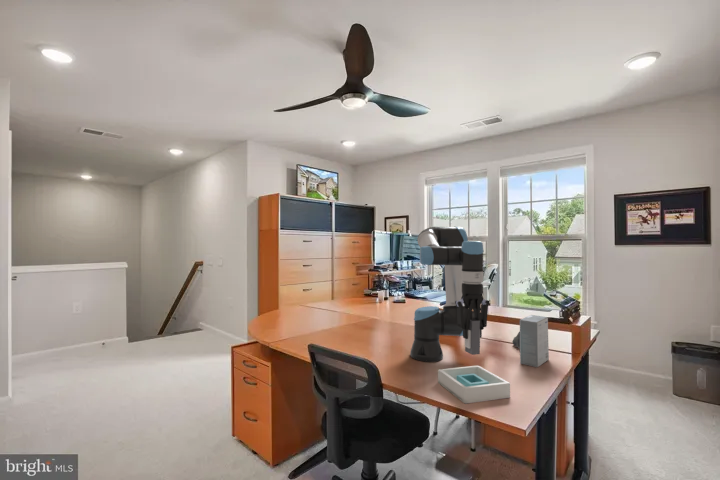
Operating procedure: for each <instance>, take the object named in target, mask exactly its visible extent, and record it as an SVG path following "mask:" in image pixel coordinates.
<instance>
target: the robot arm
mask: <svg viewBox="0 0 720 480" xmlns="http://www.w3.org/2000/svg"><path fill="white" fill-rule="evenodd" d="M416 239H417V241H416V242H417V244H418V245H417V246H419V247H420V249H419V262H420V264H421V265H422V266H423V265H425V266H426V265H427V266H444V280H445V281H444V283H445V304H444V305H443V306H442V309H440V307H439V306H431V305H430V306H428V305H427V306H422V307H418V308H417V309H415V311H414V317H413V320H414V324H413V325H414V329H413V330H414V333H413V334H414V335H413V336H414V337H413V338H414V339H413V342H412V346H411V348H410V352H409V353H410V357H411V358H412V359H413V360H416V361H420V362H425V363H426V362H429V363H431V362H432V363H433V362H440V361H442V360H443V358H444V353H443V349H442V346H441V343H440V336H447V337H448V336H453V337H462V338H463V339H464V348H465V347H467V348H469V349H470V348H471V330H469V324H470V317H471V312H472V311H475V319H476V320H479V321H480V339H481V338H482V335H483V334H482V332H483V331H482V330H484V329H485V328H487V326H488V325H487V324H488V314H489V313H488V312H489V311H488V309H489V306H490V300H487V299H485V298H484V296H483V294H484V284H483V283H484V245H483V242H482V241H479V240H478V241H477V240H468V235H467V231H466V230H465V228H464V227H462V226H431V227H427V228H425V229H423V230H422V231H420V233H419V234H418V236H417V238H416Z"/></svg>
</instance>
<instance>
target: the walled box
mask: <svg viewBox="0 0 720 480" xmlns="http://www.w3.org/2000/svg"><path fill="white" fill-rule="evenodd" d="M437 383H438V384H439V385H440V386H442V387H443V388H444V389H445V390H446V391H448V392H449V393H450V394H452V395H453V396H454V397H455V398H456V399H459V400H460V401H461V402H462V404H473V403H474V404H475V403H479V402H480V403H481V402H488V401H494V400H502V399H510V398H511V382H509V381H507V380H505V379H504V378H502V377H500V376H498V375H497V374H494V373H493V372H491V371H490V370H487V369H485V368H484V367H482V366H480V365H470V366H461V367H449V368H441V369H437Z"/></svg>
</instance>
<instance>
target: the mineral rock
mask: <svg viewBox="0 0 720 480" xmlns="http://www.w3.org/2000/svg"><path fill="white" fill-rule="evenodd" d="M511 342H512V343H511V344H513V346H515V347H516V348H517V349H519V350H520V331H519V332H518V333H517V334H516V336H514V337H513V340H512V341H511Z"/></svg>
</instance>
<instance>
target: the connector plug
mask: <svg viewBox="0 0 720 480" xmlns="http://www.w3.org/2000/svg"><path fill="white" fill-rule="evenodd" d="M469 330H471V348H470V349H469V348H467V347H465V346H464V352H466V353H468V354H469V355H471V356H472V355H473V356H475V355H481V353H480V352H481V338H480V321H479V320H476V319H475V311H473V310H472V312H471V317H470V324H469Z"/></svg>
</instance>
